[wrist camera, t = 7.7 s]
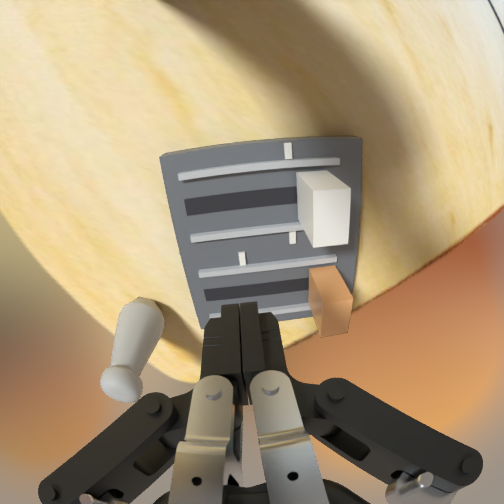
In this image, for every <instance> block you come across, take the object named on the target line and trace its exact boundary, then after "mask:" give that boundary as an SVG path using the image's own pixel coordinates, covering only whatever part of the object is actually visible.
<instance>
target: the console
mask: <svg viewBox="0 0 504 504" xmlns="http://www.w3.org/2000/svg"><path fill="white" fill-rule="evenodd" d="M159 158H160V163H161V169H162V174H163V179H164V184H165V189H166V194H167V199H168V203H169V208H170V213H171V217H172V222H173V226H174V230H175V234H176V239H177V243H178V247H179V251H180V255H181V259H182V263H183V267H184V271H185V274H186V278H187V282H188V285H189V289H190V293H191V296H192V300H193V303H194V307H195V310H196V314H197V317H198V320H199V324H200V327H201V329H205V326H206V324H207V323H208V321H209V320H210V318H218V317H221V305H226V304H236V303H239V307H240V303H245V302H254V301H257V305H258V313H265V312H272V314H273V315H274V316H275V317H276V318H277V320H278V321H284V320H292V319H299V318H306V317H313V314H312V311H311V308H310V305H309V302H308V296H309V268H317V267H325V266H333V265H335V266H336V268H337V270H338V271H339V273H340V275H341V277H342V279H343V280H344V282H345V284H346V286H347V288H348V290H349V291H350V293H351V295H352V290H353V283H354V275H355V267H356V258H357V248H358V237H359V225H360V210H361V191H362V138H358V137H355V136H315V137H293V138H277V139H265V140H254V141H244V142H235V143H227V144H219V145H212V146H205V147H199V148H192V149H186V150H181V151H175V152H170V153H165V154H163V155H162V156H160V157H159ZM323 170H327V171H329V172H330V173H331V174H333V175H334V176H335V177H337V178H338V179H339V180H341V181H342V182H343V183H345V184H346V185H347V186H348V187H350V188H351V201H350V223H349V238H348V244H342V245H333V246H325V247H316V248H313V246H312V244H311V242H310V240H309V239H308V237H307V235H306V233H305V231H304V229H303V227H302V225H301V223H300V221H299V220H298V203H297V179H296V172H307V171H323Z"/></svg>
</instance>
